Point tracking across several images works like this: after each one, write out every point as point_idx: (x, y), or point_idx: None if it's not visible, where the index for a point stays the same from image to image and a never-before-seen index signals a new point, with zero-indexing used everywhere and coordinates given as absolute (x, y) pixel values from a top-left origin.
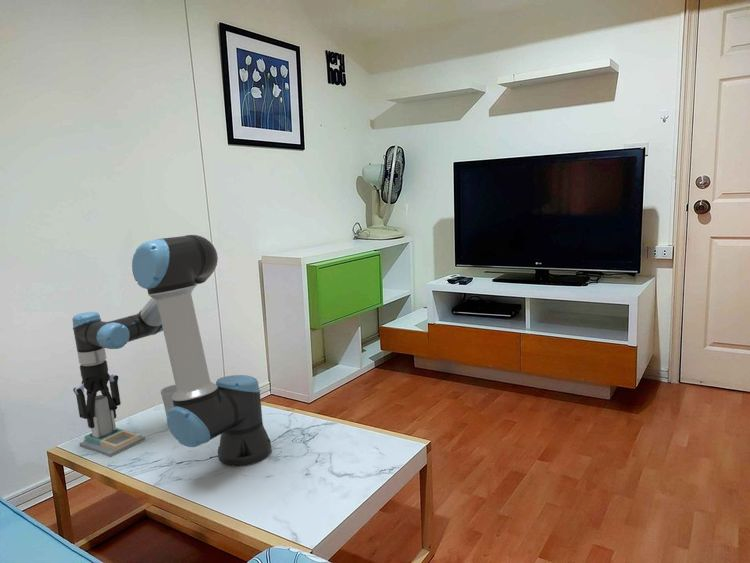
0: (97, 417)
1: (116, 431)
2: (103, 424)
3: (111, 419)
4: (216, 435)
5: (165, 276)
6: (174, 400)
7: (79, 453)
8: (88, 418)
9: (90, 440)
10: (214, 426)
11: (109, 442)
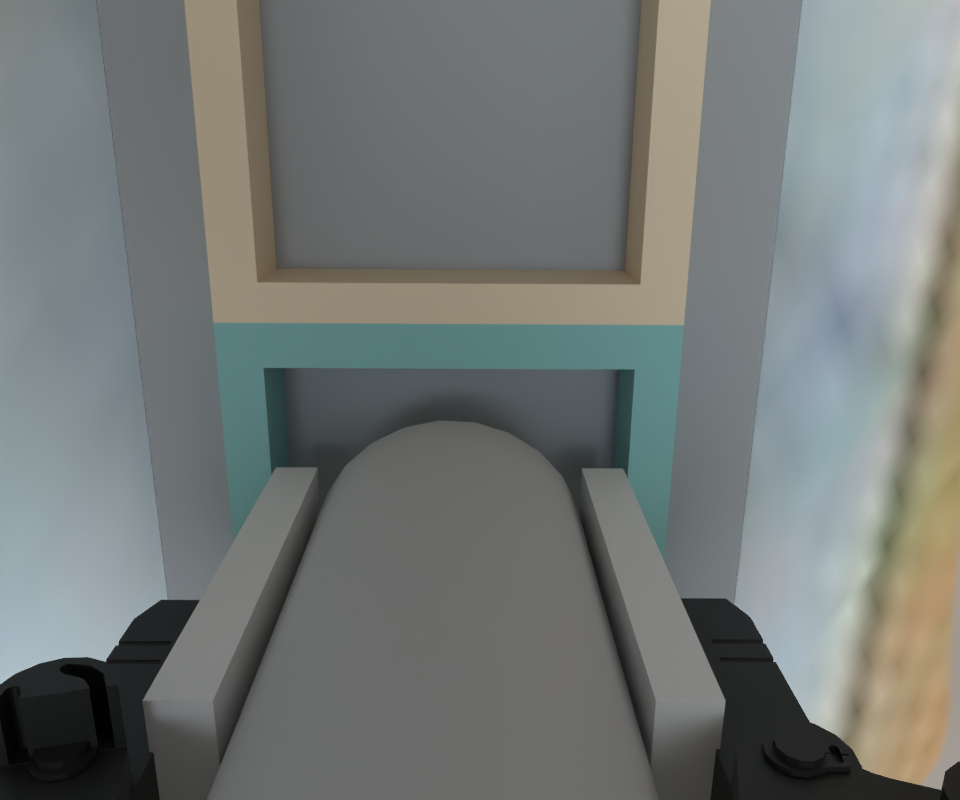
0: (623, 692)
1: (279, 457)
2: (523, 515)
3: (275, 590)
4: None
5: None
6: None
7: (864, 454)
8: (863, 771)
9: None
10: None
11: (656, 88)
